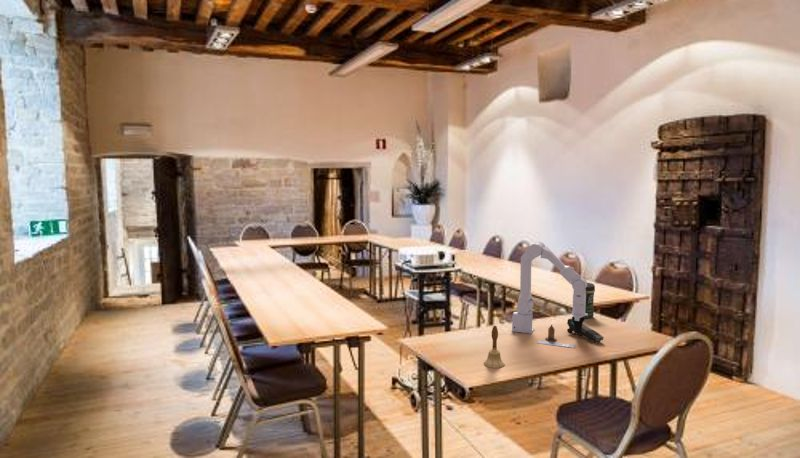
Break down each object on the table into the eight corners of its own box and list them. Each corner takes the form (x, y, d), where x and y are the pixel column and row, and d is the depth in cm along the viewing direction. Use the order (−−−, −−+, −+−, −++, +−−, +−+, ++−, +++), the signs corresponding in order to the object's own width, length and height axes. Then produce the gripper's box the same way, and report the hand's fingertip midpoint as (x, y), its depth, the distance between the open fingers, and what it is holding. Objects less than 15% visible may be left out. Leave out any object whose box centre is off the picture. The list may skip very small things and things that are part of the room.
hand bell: (507, 368, 208) (508, 328, 207) (486, 368, 208) (487, 328, 206) (501, 360, 216) (502, 322, 215) (481, 361, 216) (482, 323, 214)
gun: (571, 329, 260) (576, 312, 256) (598, 354, 243) (604, 337, 239) (563, 330, 258) (569, 313, 254) (590, 356, 242) (597, 338, 237)
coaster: (544, 340, 243) (544, 339, 243) (546, 337, 248) (546, 336, 248) (555, 342, 241) (555, 341, 241) (557, 338, 246) (557, 338, 246)
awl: (547, 339, 244) (548, 325, 243) (548, 337, 246) (549, 323, 246) (553, 340, 243) (554, 325, 242) (554, 338, 245) (555, 324, 244)
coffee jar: (585, 319, 279) (586, 285, 277) (572, 316, 285) (574, 282, 284) (596, 317, 284) (597, 283, 283) (583, 313, 291) (585, 280, 289)
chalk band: (537, 343, 239) (537, 342, 239) (538, 340, 243) (538, 340, 243) (573, 348, 233) (573, 347, 233) (574, 345, 236) (574, 345, 236)
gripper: (586, 308, 237) (585, 337, 238) (589, 301, 250) (588, 329, 251) (570, 306, 240) (569, 335, 241) (573, 299, 253) (572, 327, 254)
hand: (577, 332), depth 247 cm, fingers closed
